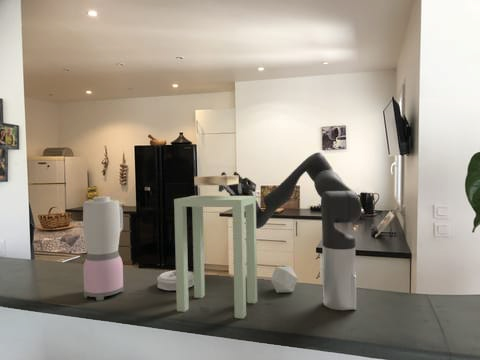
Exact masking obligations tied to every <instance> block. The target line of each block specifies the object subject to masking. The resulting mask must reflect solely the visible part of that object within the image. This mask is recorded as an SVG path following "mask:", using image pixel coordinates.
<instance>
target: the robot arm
mask: <svg viewBox="0 0 480 360" xmlns="http://www.w3.org/2000/svg"><path fill="white" fill-rule="evenodd" d="M305 173H306V174H307V175H308V176H309V178H310V180H312V182H313V184H314V189H315V191H316V192H317V195H318V196H319V197H320V212H321V229H322V231H321V236H322V290H323V291H322V294H323V295H322V298H323V299H322V300H323V306H325V307H326V308H329V309H331V310H334V311H335V310H336V311H350V310H357V270H356V269H357V267H356V265H357V264H356V239H355V238H356V237H354V236H353V235H351V234H349V233H345V232H342V231H340V230H338V229H337V228H336V227H335V224H349V223H350V224H351V223H356V222H357V221H358V220H359V219H360V217H361V216H362V209H363V208H362V203H361V202H362V201H361V200H360V197H359V195H358V194H357V193H356V192H355V191H354V190H353V189H351V188H350V187H349V186H348V185H346V183H345V182H344V181H343V180H342V178H341V176H339V174H338V173H336V172H335V171H334V169H333V167H332V166H331V165H330V162H328V160H327V159H326V156H325V155H324V154H323V153H322V152H314V153H313V154H311V155H309V156H308V157H307V158H306V159H305V160H303V161H302V162H301V163H300V164H299V165H298V166H297V167H296V168H295V169H294V170H293V171H292V172H291V173H290V174H289V175H288V176H287V177H286V178H285V179H284V180H283V181H282V182H281V183H280V184H279V185H278V186H276V187H275V188H274V189H272V191H270V192H269V193H268V194H267V195H265V196H263V199H262V201H263V204H264V206H265V207H264V209H262V208H261V207H260V205H259V203H258V201H257V200H256V230H257V229H261V228H263V227H264V226H265V225H266V224H267V222H268V221H269V220H270V219H271V217H272V216H273V214H275V212H276V211H277V210H279V209H280V207H282V206H283V205H285V204H286V203H288V201H289V200H290V199H291V198H292V196H293V194H294V191H295V189H296V187H297V184H298V182H299V180H300V178H301V177H302V176H303V175H304V174H305ZM221 175H227V174H226V172H225V171H222V172H221V174H220V176H221ZM233 175H239V184H232V185H218V192H220V193H222V192H223V191H226V192H227V194H229V196H255V195H254V193H255V192H257V191H256V190H257V184H256V183H255V182H253V181H252V180H251V179H250V178H248V177H244V178H243V177H242V176H241V175H240V173H238V172H237V171H234V172H233ZM244 219H246V209H245V206H244Z"/></svg>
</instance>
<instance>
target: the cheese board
mask: <svg viewBox="0 0 480 360" xmlns="http://www.w3.org/2000/svg"><path fill="white" fill-rule="evenodd" d="M239 175H240V174H239ZM239 175H234V174H226V175H221V174H220V175H201V176H200V175H199V176H198V175H197V176H194V177H193V179H194V183H193V184H194V186H219V185H224V186H225V185H232V184H239Z"/></svg>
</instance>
